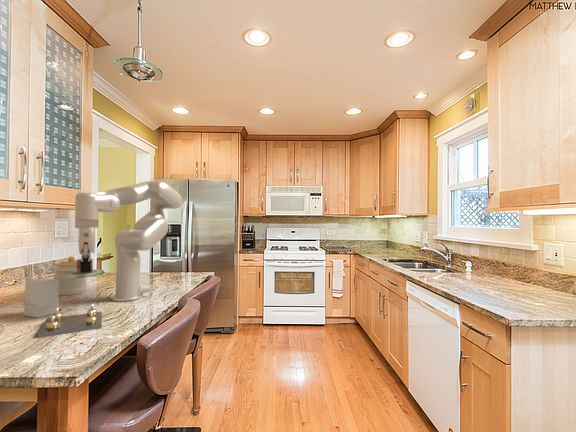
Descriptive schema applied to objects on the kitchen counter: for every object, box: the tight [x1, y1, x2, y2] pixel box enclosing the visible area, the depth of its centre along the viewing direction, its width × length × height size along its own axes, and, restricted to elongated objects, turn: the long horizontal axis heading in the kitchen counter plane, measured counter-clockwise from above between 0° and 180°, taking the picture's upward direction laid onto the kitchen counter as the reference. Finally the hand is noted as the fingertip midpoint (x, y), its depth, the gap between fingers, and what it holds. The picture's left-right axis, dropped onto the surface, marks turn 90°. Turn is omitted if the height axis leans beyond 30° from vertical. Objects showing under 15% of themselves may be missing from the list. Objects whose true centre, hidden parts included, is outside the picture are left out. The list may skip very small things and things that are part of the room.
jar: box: [53, 256, 87, 296], centre depth 141 cm, size 13×13×18 cm
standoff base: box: [37, 303, 103, 338], centre depth 97 cm, size 16×16×5 cm
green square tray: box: [64, 258, 104, 278], centre depth 113 cm, size 12×12×6 cm
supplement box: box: [23, 277, 60, 318], centre depth 108 cm, size 7×7×13 cm
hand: (85, 270), depth 113 cm, fingers closed on green square tray, 5 cm apart
